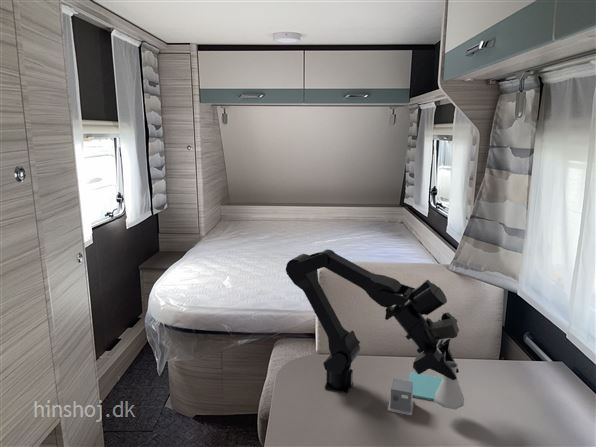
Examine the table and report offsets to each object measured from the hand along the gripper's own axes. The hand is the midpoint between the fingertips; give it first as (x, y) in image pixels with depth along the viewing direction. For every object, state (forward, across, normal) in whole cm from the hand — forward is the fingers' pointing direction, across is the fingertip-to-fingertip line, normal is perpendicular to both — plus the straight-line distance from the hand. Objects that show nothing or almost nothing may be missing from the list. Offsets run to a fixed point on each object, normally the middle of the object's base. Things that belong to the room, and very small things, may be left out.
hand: (456, 375), depth 107 cm
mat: (+3, +10, +14) cm, 18 cm away
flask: (+5, 0, +6) cm, 8 cm away
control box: (0, -1, +17) cm, 17 cm away
